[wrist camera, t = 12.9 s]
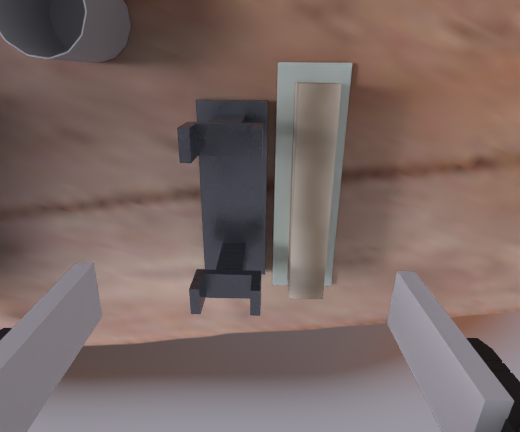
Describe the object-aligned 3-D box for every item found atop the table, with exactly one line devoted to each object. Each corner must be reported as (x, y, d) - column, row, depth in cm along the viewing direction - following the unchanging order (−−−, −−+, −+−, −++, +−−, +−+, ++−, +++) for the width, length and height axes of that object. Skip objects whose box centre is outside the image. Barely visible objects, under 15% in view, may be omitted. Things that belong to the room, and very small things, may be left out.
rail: (286, 272, 48) (289, 298, 43) (295, 82, 40) (299, 83, 34) (316, 273, 48) (322, 299, 43) (331, 82, 40) (341, 84, 34)
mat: (272, 282, 50) (272, 284, 49) (277, 62, 39) (278, 62, 39) (330, 283, 50) (330, 286, 49) (351, 63, 39) (352, 63, 39)
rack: (206, 268, 49) (188, 325, 38) (197, 99, 41) (171, 109, 30) (265, 269, 49) (263, 327, 38) (268, 100, 41) (267, 110, 30)
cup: (144, 9, 38) (103, -12, 29) (110, 77, 41) (62, 79, 31) (70, -46, 36) (2, -86, 27) (39, 30, 39) (-33, 16, 30)
